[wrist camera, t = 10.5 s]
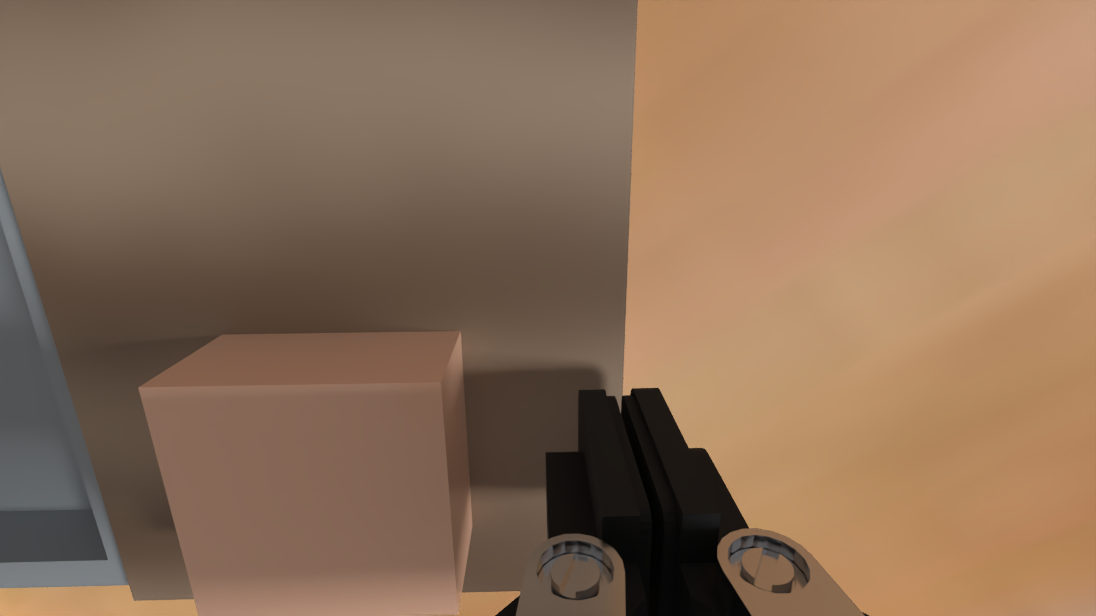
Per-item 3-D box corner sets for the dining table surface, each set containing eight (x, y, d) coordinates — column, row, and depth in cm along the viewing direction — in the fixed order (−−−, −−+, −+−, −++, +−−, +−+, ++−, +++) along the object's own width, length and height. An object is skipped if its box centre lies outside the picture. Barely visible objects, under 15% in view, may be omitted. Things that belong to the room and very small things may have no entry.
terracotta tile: (222, 334, 11) (138, 387, 9) (460, 331, 11) (441, 381, 9) (262, 530, 13) (200, 620, 10) (472, 526, 13) (458, 614, 10)
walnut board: (37, -170, 11) (-138, -278, 8) (619, -168, 11) (648, -272, 8) (204, 518, 16) (133, 600, 13) (600, 510, 16) (615, 588, 14)
